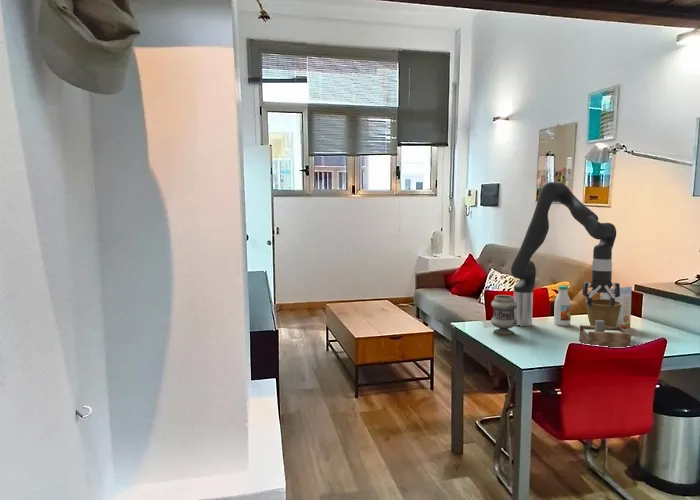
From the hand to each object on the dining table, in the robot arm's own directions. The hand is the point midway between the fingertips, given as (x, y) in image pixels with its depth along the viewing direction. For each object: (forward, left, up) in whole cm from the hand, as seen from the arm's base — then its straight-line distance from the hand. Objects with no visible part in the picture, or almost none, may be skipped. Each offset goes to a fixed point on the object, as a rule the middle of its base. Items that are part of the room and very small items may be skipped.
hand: (600, 306), depth 206 cm
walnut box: (+2, 0, -17) cm, 18 cm away
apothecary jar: (-38, +15, -18) cm, 44 cm away
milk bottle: (-6, +37, -18) cm, 41 cm away
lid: (+2, 0, -12) cm, 13 cm away
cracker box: (+18, +34, -18) cm, 42 cm away
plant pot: (+7, +18, -18) cm, 26 cm away
